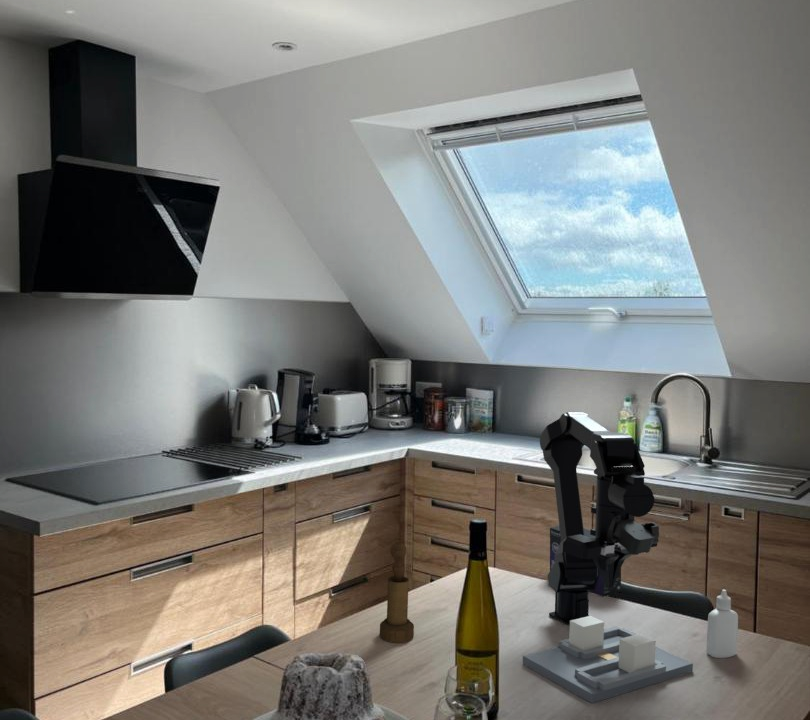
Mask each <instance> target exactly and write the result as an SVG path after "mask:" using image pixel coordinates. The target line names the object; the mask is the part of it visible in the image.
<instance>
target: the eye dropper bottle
mask: <svg viewBox="0 0 810 720" xmlns="http://www.w3.org/2000/svg"><path fill="white" fill-rule="evenodd" d="M731 603H732V599H731V597H730V596H728V593H727V590H726V589H722V590H721V592H720V595H717V596H716V608H714V609H713V610H711V611H710V612H709V613H708V616H707V629H706V630H707V631H706V654H707V655H709V656H710V657H713V658H716V659H725V658H731V657H733V656H736V654H737V653H738V634H739V633H738V632H739V631H738V630H739V629H738V627H739V615H738V613H737V612H736V611H735V610H732V609H731V608H732V604H731Z"/></svg>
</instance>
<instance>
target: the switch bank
mask: <svg viewBox="0 0 810 720" xmlns="http://www.w3.org/2000/svg"><path fill="white" fill-rule="evenodd" d="M636 634H637V633H636V632H634V631H631V630H629V629H627V628H625V627H618V626H612V627H609V628H604V639H603V646H599V647H596V648H592V649H588V650H584V651H582V650H580V649H578V648H576V647H574V646H572V645H570V644H569V637H568V638H565V639H561V640H559V641H558V646H554V647H552V648H551V647H550V648H548V649H544V650H540V651H537V652H531V653H528V654H524V655H522V665H524V666H526V667H527V668H529V669H531V670H532V671H535V672H536V673H538V674H540V675H541V676H543V677H545V678H546V679H548V680H551V682H554V683H555V684H557V685H559V686H560V687H563V688H564V689H566V690H568V691H570V692H572V693H573V694H575V695H577V696H578V697H580V698H582V699H584V700H585V701H587V702H589V703H591V704H595V703H597V702H601V701H604V700H606V699H607V700H608V699H610V698H613V697H616V696H619V695H623V694H626V693H630V692H631V691H632V692H633V691H635V690H640V689H642V688H644V687H648V686H651V685H654V684H655V685H656V684H658V683H661V682H664V681H667V680H671V679H674V678H677V677H681V676H683V675H686V674H690V673H693V670H694V668H693V667H694V663H693V662H691V661H689V660H686V659H684V658H682V657H680V656H677V655H675V654H674V653H671V652H669V651H666V650H664V649H662V648H660V647H657V646H655V665H654V666H651V667H647V668H644V669H641V670H637V671H634V672H631V673H628V672H626V671H624V670H622V669H620V668H618V666H619V639H621V638H625V637H629V636H632V635H636Z"/></svg>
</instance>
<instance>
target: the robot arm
mask: <svg viewBox="0 0 810 720" xmlns="http://www.w3.org/2000/svg"><path fill="white" fill-rule="evenodd" d="M539 446H540V449H541V450H542V455H543V460H544V461H545V464H547V466H548V467H549V468H550V470H552V472H553V481H554V482H553V483H554V490H555V491H554V492H555V498H556V507H557V508H556V510H557V516H558V526H559V527H560V536H561V543H560V545H559V547H558V549H557V551H556V553H555V564H554V565H553V567H552V569H551V570H550V569H549V572H548V573H547V583H548V587H549V588H551V590H553V591H554V592H555V593H554V594H555V596H554V598H555V599H554V611H552V612H551V611H550V612H549V613H548V616H549V617H551V618H553V619H556V620H558V621H560V622H561V623H563V624H567V625H568V626H570V620H575V619H579V618H583V617H587V616H590V615H589V612H590V611H589V607H590V605H589V604H590V601H589V592H590V591H596V587H597V582H598V578H599V573H600V575H601V577H602V580H603V582H604V584H605V587H606V588H609V589H611V588H613V586H614V584H615V581H616V579H617V576H618V574H619V571H620V569H621V570H622V566H623V564H624V562H625V561H626V559H628V558H630V557H631V556H632V555H633V556H637V555H640V554H642V553H646V554H648V553H650V552H651V549H652V548H655V547H658V543H659V542H660V541H659V537H660V528H659V525H658V524H657V523H656V522H654V521H649V522H646V523H643V522H641V523H640V522H639V523H638V522H636V520H635V517H636V518H640V517H643V516H646V515H648V514H649V512H651V510H652V509H653V508H654V504H655V496H654V493H653V491H652V489H651V488H650V486H648V485H647V484H645V477H644V476H645V475H646V472H645V466H646V465H645V464H644V461H643V459H642V456H641V454H640V451H639V447H638V444H637V443H636V441H635V439H634V438H633V436H631V434H627V433H624V432H618V431H617V432H615V431H611V430H607V429H606V428H605V427H604V426H602V425H601V424H599V422H596V421H595V420H594V419H592V418H590V417H589V414H588V413H585V412H583V411H580V412H579V411H578V412H571V411H570V412H568V411H567V412H565V413H562V414H561V415H560V417H559V418H558V419H557V420H554V421H553V422H551V423H548V425H546V426H545V428H544V429H543V431H542V432H541V434H540V437H539ZM584 446H585V447H587V448H588V449H589V450H590V451H589V452H590V453H589V457H590V458H591V460H592V461H593V463H594V465H595V467H596V468H594V470H593V473H594V475H596V492H595V493H596V496H595V497H596V498H595V499H596V500H595V501H596V502H595V506H591V507H590V513H591V514H595V525H594V528H591V529H589V530H590V535H593V536H595V539H593V538H590V537H587V536H584V529H585V528H584V522H583V514H582V506H581V498H580V496H581V495H580V489H579V487H580V486H579V481H578V473H577V471H578V470H577V468H578V465H579V462H580V460H581V459H582V456H583V448H584ZM583 528H584V529H583Z"/></svg>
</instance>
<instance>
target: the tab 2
mask: <svg viewBox="0 0 810 720" xmlns="http://www.w3.org/2000/svg"><path fill="white" fill-rule="evenodd" d="M656 641H657V640H656V639H653V638H651V637H649V636H647V635H644V634H642V633H636V635H632V636H629V637H625V638H621V639H619V666H618V668H620V669H622V670H624V671H626V672H628V673H631V672H634V671H637V670H641V669H644V668H647V667H651V666H654V665H655V647H657V646H656Z"/></svg>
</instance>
